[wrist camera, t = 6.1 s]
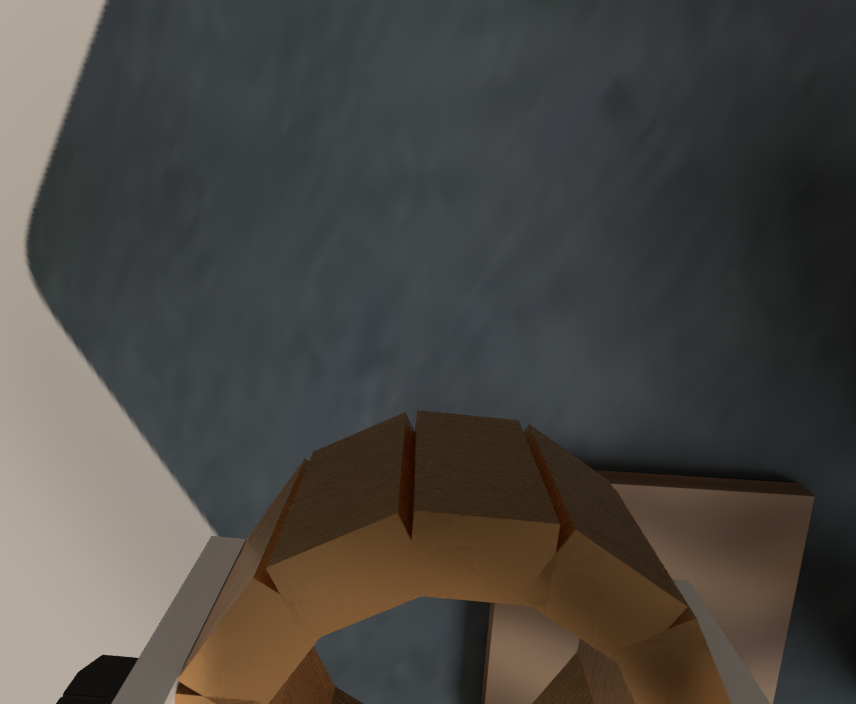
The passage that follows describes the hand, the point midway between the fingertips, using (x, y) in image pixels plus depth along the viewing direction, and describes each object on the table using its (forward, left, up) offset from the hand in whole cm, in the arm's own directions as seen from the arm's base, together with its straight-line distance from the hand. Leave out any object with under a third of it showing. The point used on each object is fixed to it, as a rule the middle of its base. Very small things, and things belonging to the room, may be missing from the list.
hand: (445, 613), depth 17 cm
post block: (+10, +10, -18) cm, 23 cm away
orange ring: (0, 0, 0) cm, 0 cm away
